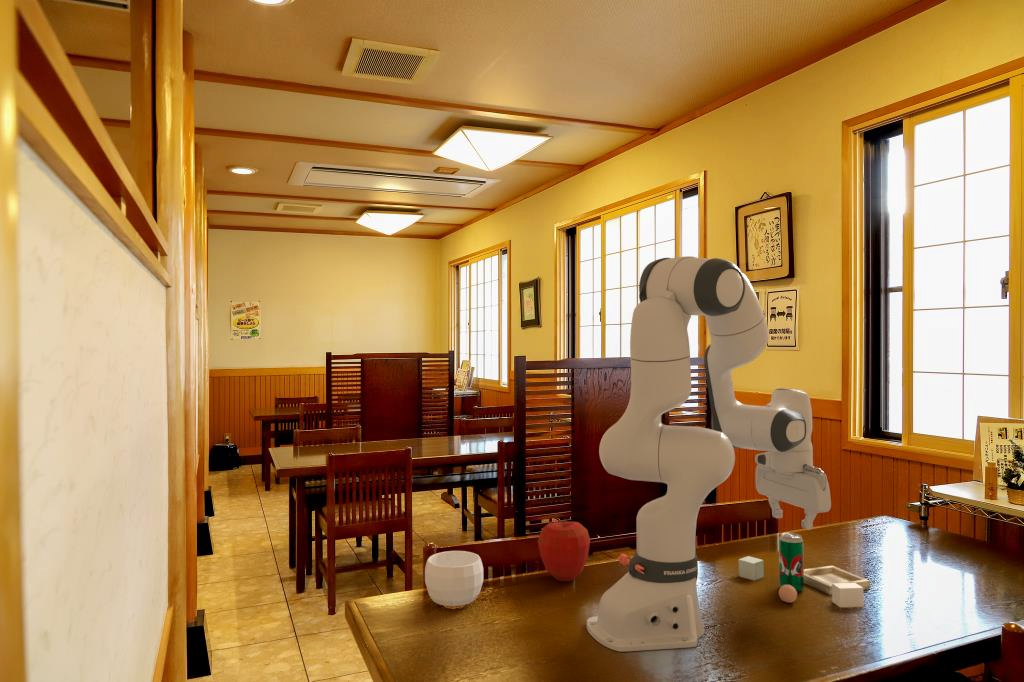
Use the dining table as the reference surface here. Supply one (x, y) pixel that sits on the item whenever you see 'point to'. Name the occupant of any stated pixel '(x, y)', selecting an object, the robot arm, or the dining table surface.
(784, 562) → the soda can
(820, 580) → the tray
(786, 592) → the terracotta ball
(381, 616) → the dining table surface
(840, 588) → the cream block
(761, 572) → the sage block
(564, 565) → the apple
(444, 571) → the cup
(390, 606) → the dining table surface
